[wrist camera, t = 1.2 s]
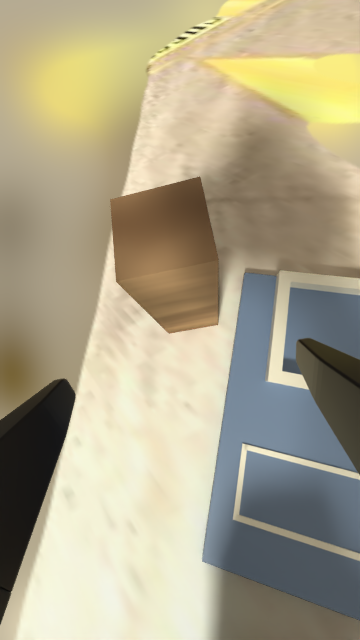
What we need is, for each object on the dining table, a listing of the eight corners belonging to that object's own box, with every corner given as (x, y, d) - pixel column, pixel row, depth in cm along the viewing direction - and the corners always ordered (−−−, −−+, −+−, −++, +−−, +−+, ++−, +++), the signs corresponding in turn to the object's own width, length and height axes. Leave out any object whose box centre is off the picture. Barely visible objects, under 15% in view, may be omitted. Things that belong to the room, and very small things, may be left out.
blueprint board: (412, 630, 15) (440, 666, 13) (202, 553, 18) (201, 574, 16) (403, 293, 20) (422, 284, 18) (244, 276, 23) (246, 266, 21)
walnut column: (217, 324, 22) (218, 259, 10) (168, 333, 23) (116, 281, 11) (208, 279, 24) (200, 176, 12) (162, 288, 24) (110, 199, 12)
